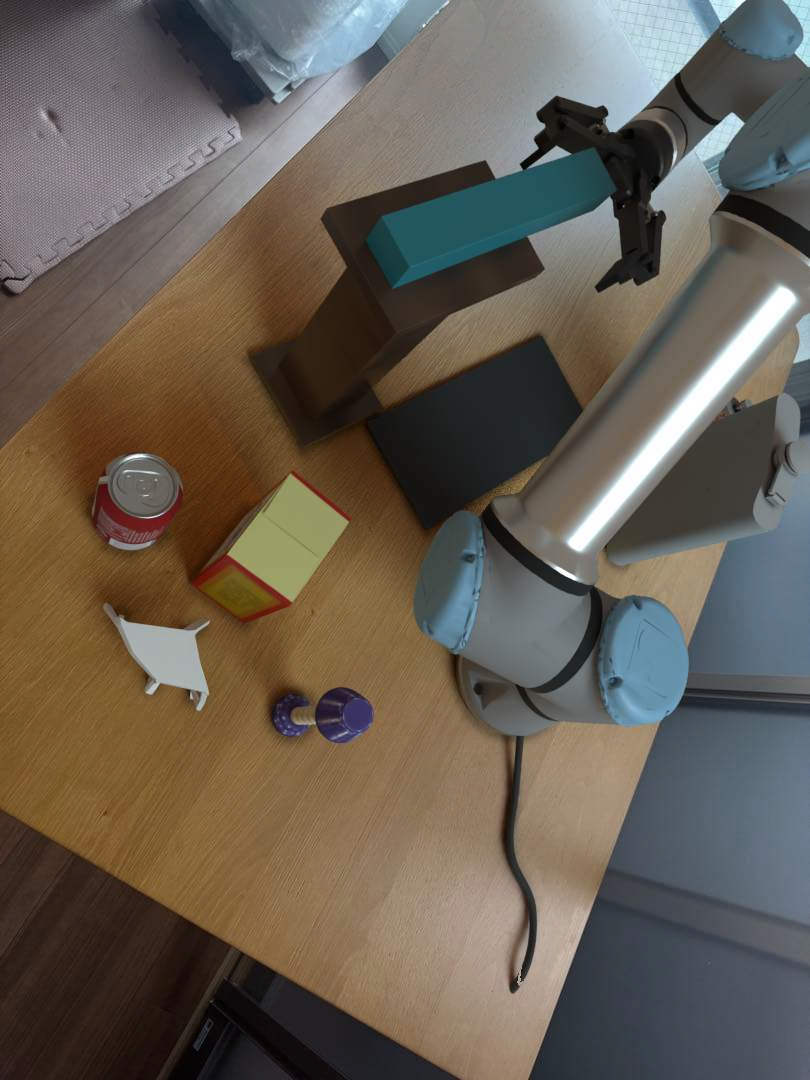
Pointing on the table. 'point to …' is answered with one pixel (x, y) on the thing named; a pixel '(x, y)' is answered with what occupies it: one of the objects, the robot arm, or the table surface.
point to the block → (487, 216)
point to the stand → (378, 312)
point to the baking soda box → (272, 550)
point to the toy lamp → (324, 715)
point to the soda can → (136, 500)
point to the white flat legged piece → (165, 654)
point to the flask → (720, 485)
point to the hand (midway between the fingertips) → (570, 223)
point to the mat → (476, 430)
